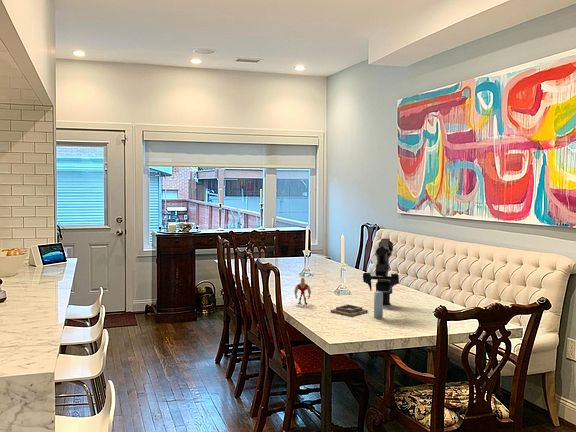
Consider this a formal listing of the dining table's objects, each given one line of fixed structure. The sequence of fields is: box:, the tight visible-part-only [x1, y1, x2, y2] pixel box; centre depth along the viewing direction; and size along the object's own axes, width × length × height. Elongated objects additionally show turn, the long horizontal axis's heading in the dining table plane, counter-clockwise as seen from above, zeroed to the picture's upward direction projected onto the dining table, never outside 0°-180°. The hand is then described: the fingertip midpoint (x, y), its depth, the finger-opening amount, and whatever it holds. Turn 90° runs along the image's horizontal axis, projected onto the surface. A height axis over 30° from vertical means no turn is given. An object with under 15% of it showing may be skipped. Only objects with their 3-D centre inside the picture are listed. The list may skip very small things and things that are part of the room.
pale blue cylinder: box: [373, 291, 384, 319], centre depth 292 cm, size 4×4×13 cm
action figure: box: [294, 277, 312, 305], centre depth 324 cm, size 10×4×15 cm, turn 88°
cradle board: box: [330, 303, 369, 317], centre depth 303 cm, size 14×14×3 cm
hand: (379, 291), depth 297 cm, fingers open, 9 cm apart
